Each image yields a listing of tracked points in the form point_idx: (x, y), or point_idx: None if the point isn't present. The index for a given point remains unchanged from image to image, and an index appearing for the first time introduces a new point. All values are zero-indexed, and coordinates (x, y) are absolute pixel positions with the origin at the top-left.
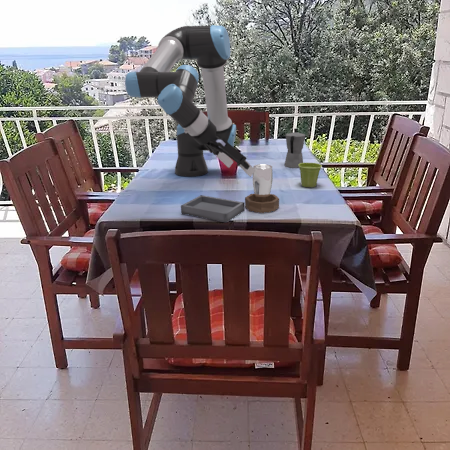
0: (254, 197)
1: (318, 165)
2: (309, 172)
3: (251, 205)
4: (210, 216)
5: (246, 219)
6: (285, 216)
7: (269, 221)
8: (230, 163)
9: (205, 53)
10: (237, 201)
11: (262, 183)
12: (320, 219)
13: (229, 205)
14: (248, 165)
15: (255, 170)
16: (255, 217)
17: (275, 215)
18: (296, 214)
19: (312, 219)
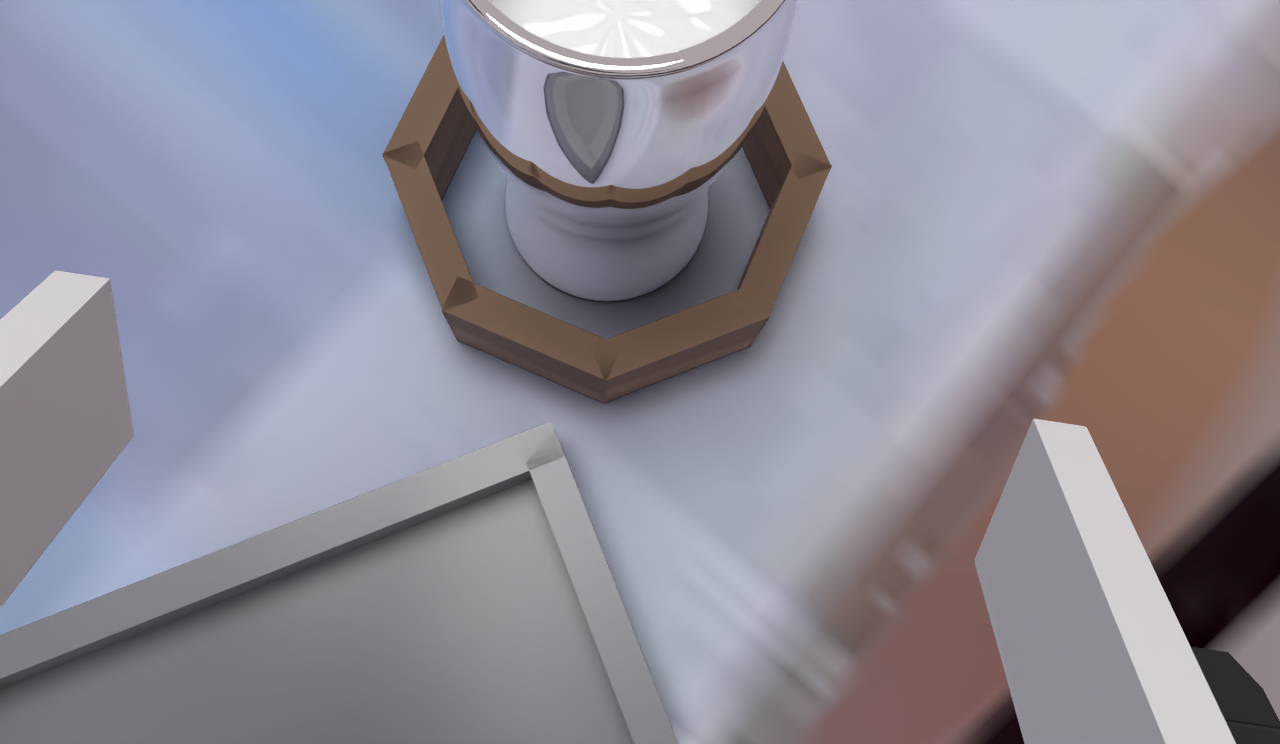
0: (439, 152)
1: None
2: None
3: (634, 378)
4: None
5: (795, 615)
6: (993, 218)
7: (1003, 455)
8: (98, 377)
9: None
10: (455, 463)
11: (733, 149)
12: (1267, 22)
13: (377, 538)
14: (1260, 720)
15: (1083, 432)
16: (812, 490)
17: (904, 277)
18: (1019, 91)
19: (1222, 79)
